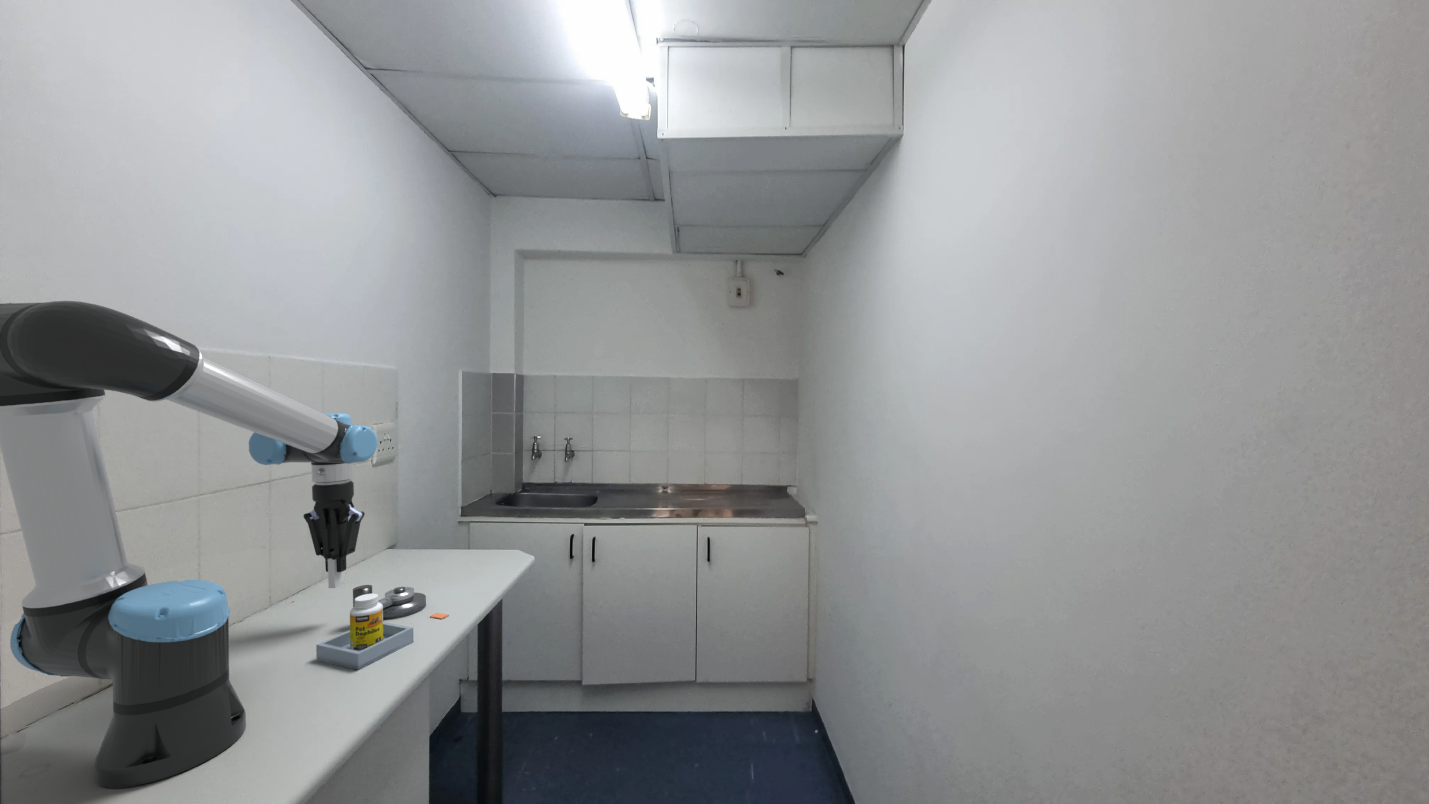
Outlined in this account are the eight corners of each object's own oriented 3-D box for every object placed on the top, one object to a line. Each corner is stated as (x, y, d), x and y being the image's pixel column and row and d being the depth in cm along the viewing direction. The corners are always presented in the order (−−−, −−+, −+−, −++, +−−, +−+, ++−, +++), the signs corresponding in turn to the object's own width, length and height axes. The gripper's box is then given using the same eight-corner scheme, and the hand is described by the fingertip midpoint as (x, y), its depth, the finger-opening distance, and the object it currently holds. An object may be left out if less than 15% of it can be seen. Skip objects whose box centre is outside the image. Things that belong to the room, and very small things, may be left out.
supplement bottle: (350, 657, 100) (350, 604, 100) (349, 646, 104) (348, 596, 104) (384, 648, 103) (383, 597, 103) (382, 638, 108) (381, 589, 108)
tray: (358, 670, 96) (358, 654, 96) (316, 659, 100) (316, 644, 100) (413, 641, 107) (413, 627, 107) (373, 633, 111) (373, 620, 111)
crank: (401, 594, 128) (401, 569, 128) (419, 596, 126) (419, 571, 126) (345, 616, 115) (345, 589, 115) (364, 620, 113) (364, 592, 113)
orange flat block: (441, 619, 118) (441, 618, 118) (430, 617, 119) (429, 616, 119) (448, 615, 120) (448, 614, 120) (437, 613, 121) (437, 612, 121)
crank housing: (395, 622, 117) (395, 613, 117) (361, 615, 121) (361, 607, 121) (436, 603, 127) (436, 595, 127) (403, 598, 131) (403, 590, 131)
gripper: (291, 485, 112) (295, 591, 113) (347, 485, 111) (350, 592, 112) (320, 478, 120) (323, 579, 120) (372, 478, 119) (376, 580, 119)
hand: (336, 585), depth 116 cm, fingers closed
